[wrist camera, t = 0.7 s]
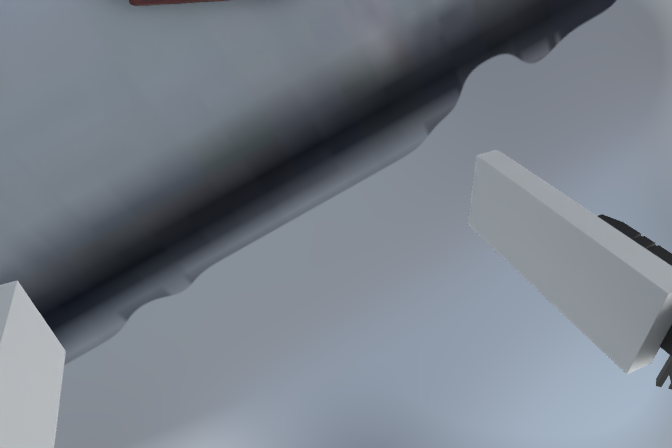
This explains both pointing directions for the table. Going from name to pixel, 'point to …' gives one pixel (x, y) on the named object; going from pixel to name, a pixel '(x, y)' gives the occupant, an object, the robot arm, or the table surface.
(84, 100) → the table surface
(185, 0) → the book
